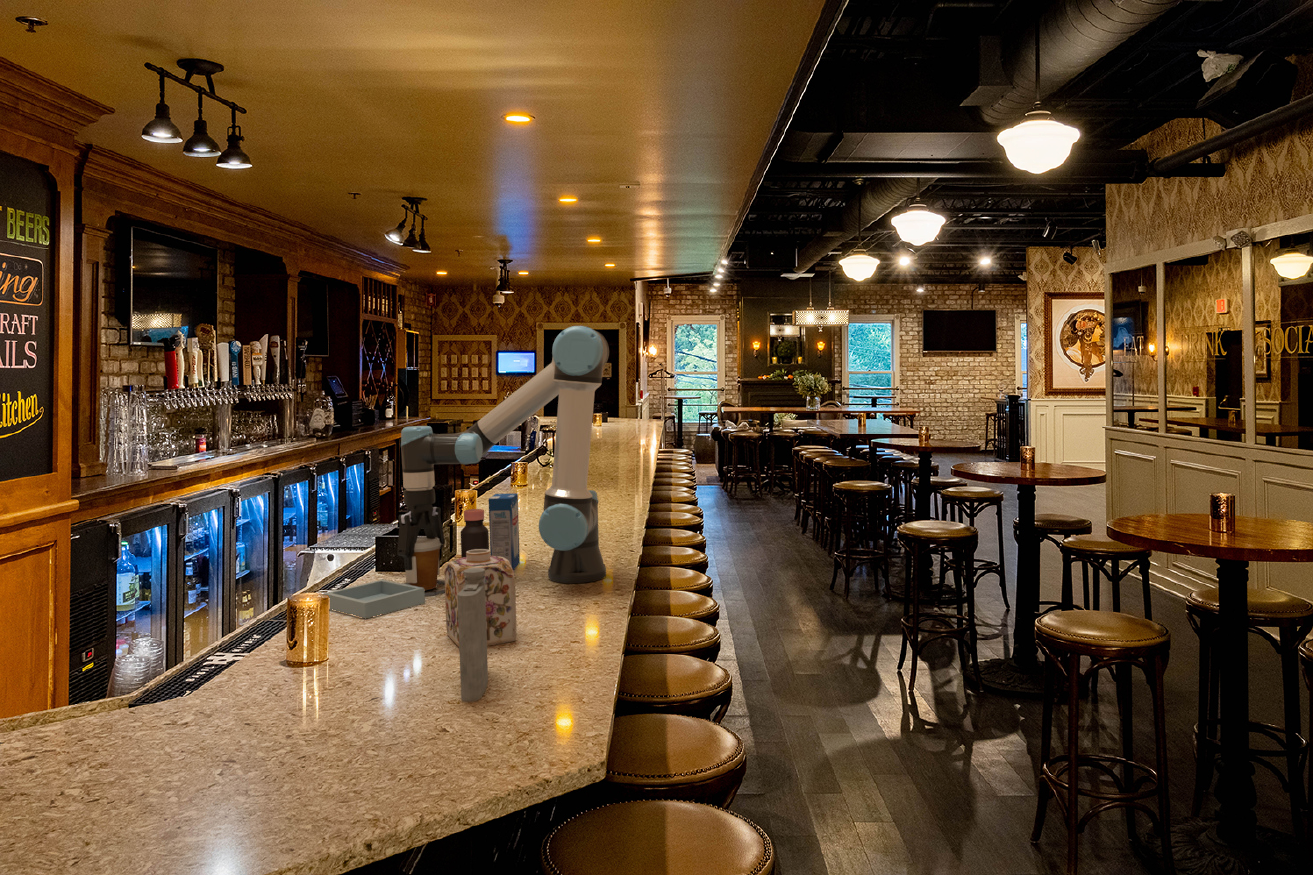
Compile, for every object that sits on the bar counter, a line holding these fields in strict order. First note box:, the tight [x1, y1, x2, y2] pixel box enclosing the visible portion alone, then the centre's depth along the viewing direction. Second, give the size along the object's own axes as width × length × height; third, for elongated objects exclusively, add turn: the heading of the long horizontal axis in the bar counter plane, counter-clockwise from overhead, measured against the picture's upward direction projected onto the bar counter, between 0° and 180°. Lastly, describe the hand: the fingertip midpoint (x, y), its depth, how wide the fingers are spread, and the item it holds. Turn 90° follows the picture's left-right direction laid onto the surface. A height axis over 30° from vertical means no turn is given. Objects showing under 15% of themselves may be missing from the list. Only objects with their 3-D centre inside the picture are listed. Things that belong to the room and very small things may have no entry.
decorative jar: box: [443, 549, 517, 648], centre depth 170 cm, size 12×12×18 cm
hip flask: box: [457, 568, 489, 703], centre depth 144 cm, size 16×4×20 cm, turn 8°
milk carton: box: [488, 492, 521, 572], centre depth 234 cm, size 10×6×20 cm, turn 179°
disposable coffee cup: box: [410, 536, 441, 591], centre depth 211 cm, size 10×10×12 cm
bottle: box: [460, 508, 490, 558], centre depth 209 cm, size 7×7×20 cm
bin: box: [323, 578, 426, 620], centre depth 197 cm, size 16×16×4 cm
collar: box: [402, 579, 445, 597], centre depth 211 cm, size 15×15×1 cm
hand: (423, 578), depth 211 cm, fingers closed on disposable coffee cup, 8 cm apart
